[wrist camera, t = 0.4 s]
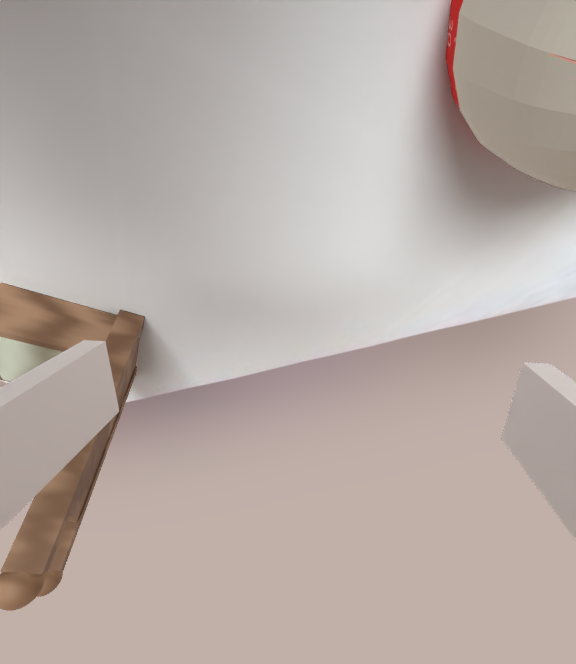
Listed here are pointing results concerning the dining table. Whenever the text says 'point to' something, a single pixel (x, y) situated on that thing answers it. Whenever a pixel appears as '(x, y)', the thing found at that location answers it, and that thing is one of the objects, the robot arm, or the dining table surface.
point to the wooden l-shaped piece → (82, 471)
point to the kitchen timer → (518, 82)
